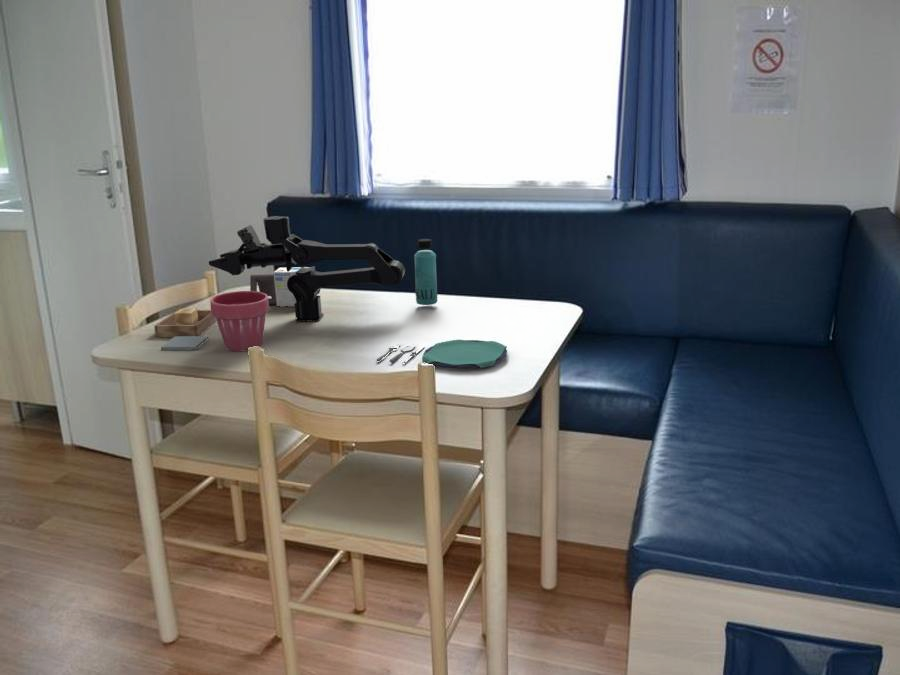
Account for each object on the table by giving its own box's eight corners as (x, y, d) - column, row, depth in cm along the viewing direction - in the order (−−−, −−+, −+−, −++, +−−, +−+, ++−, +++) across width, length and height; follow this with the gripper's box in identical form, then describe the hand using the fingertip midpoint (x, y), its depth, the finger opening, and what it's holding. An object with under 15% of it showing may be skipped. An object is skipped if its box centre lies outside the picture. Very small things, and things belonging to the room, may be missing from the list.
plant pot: (284, 343, 210) (279, 295, 206) (238, 358, 199) (232, 307, 196) (249, 334, 218) (244, 287, 215) (204, 347, 208) (198, 299, 204)
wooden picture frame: (218, 319, 233) (217, 309, 232) (198, 336, 218) (196, 325, 217) (178, 320, 234) (177, 310, 233) (155, 336, 219) (154, 326, 218)
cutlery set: (495, 376, 183) (495, 366, 182) (371, 368, 192) (370, 358, 191) (515, 349, 201) (515, 340, 200) (401, 343, 210) (400, 334, 209)
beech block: (199, 326, 228) (197, 308, 226) (193, 330, 223) (190, 313, 222) (183, 326, 228) (181, 308, 227) (177, 330, 224) (174, 313, 222)
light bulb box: (316, 301, 250) (314, 266, 246) (311, 307, 243) (308, 271, 240) (282, 301, 251) (279, 266, 247) (276, 307, 244) (272, 271, 241)
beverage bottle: (430, 303, 243) (428, 236, 237) (442, 307, 238) (440, 239, 232) (411, 306, 240) (408, 239, 234) (423, 311, 234) (420, 242, 228)
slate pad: (208, 339, 215) (208, 336, 215) (195, 349, 207) (195, 346, 207) (175, 339, 216) (175, 336, 216) (161, 350, 208) (160, 347, 207)
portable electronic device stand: (248, 306, 246) (245, 279, 243) (254, 299, 253) (251, 273, 251) (278, 305, 246) (275, 278, 243) (283, 298, 253) (280, 272, 251)
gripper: (274, 220, 233) (220, 225, 234) (254, 231, 215) (197, 236, 217) (280, 259, 236) (227, 263, 238) (261, 273, 218) (204, 278, 220)
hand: (214, 259), depth 228 cm, fingers open, 9 cm apart
